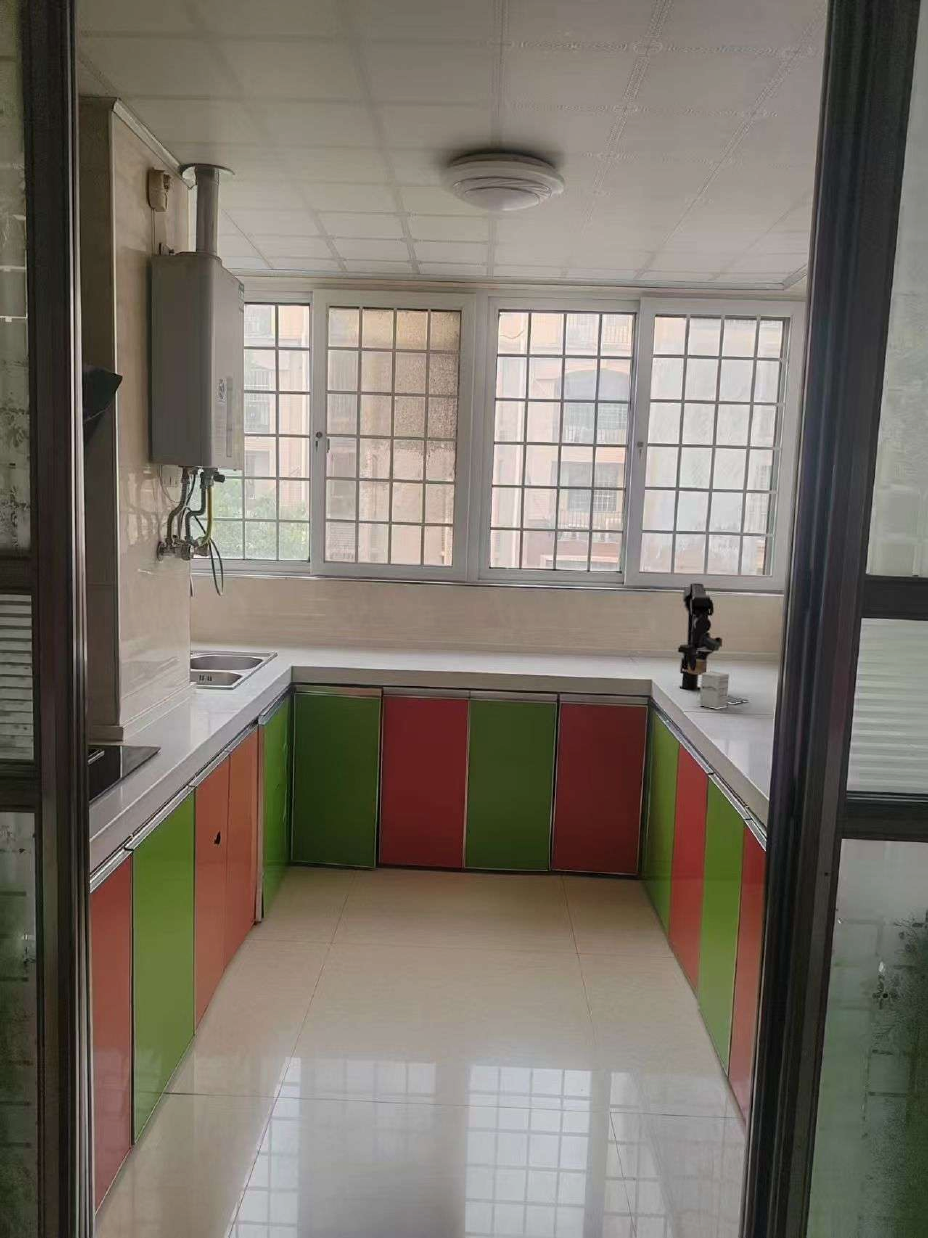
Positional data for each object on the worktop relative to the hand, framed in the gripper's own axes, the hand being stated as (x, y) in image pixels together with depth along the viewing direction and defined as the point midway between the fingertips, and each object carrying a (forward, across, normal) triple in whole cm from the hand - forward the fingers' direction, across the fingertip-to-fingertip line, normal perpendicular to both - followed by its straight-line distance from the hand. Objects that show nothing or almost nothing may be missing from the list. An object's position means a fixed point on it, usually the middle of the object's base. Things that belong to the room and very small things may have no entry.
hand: (697, 670), depth 368 cm
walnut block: (+1, 0, 0) cm, 1 cm away
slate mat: (+11, +7, -11) cm, 17 cm away
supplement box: (+11, -8, -13) cm, 19 cm away
